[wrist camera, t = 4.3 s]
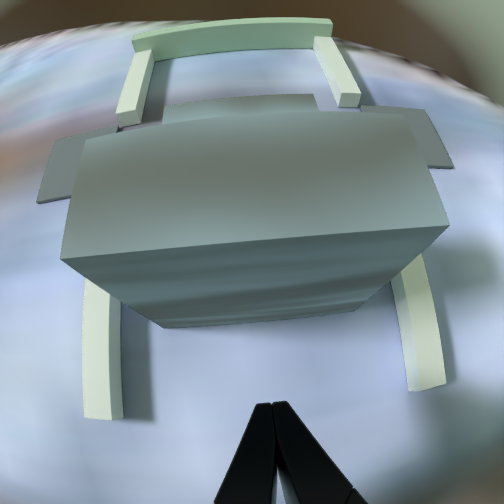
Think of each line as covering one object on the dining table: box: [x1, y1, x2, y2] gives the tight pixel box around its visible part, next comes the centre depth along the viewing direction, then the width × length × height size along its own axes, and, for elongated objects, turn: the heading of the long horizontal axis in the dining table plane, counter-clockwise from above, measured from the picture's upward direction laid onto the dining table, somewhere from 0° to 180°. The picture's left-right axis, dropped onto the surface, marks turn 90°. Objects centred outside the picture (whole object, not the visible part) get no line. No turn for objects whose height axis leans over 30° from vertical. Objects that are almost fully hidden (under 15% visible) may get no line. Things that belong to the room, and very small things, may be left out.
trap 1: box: [360, 105, 453, 169], centre depth 21 cm, size 6×6×1 cm
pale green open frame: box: [82, 18, 446, 420], centre depth 19 cm, size 30×18×3 cm, turn 5°
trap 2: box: [36, 125, 119, 204], centre depth 20 cm, size 6×6×1 cm
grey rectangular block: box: [60, 94, 450, 328], centre depth 14 cm, size 14×10×10 cm
